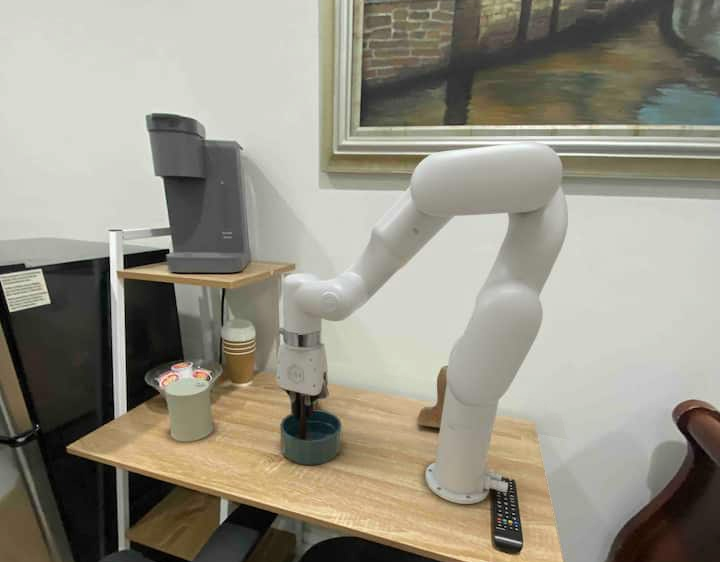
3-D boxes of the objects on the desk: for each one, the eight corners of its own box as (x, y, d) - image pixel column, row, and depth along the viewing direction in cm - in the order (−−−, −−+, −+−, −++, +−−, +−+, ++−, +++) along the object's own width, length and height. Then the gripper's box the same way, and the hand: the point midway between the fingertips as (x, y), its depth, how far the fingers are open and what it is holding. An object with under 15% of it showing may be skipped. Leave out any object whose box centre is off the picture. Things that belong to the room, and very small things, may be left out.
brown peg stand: (316, 441, 88) (317, 392, 84) (306, 451, 84) (306, 401, 80) (299, 436, 89) (299, 388, 85) (289, 446, 85) (288, 396, 81)
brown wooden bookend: (473, 414, 105) (482, 363, 100) (479, 438, 94) (490, 382, 89) (417, 408, 107) (423, 357, 102) (416, 430, 96) (423, 375, 91)
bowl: (349, 440, 91) (350, 417, 89) (324, 472, 79) (324, 447, 77) (299, 426, 95) (299, 404, 93) (269, 456, 84) (268, 431, 81)
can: (213, 438, 89) (209, 391, 84) (169, 444, 85) (162, 395, 81) (213, 418, 97) (209, 374, 92) (172, 423, 94) (166, 377, 89)
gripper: (258, 335, 77) (262, 417, 84) (329, 349, 72) (327, 434, 78) (279, 326, 84) (281, 402, 90) (346, 338, 79) (342, 417, 85)
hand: (303, 417), depth 84 cm, fingers closed on brown peg stand, 1 cm apart
